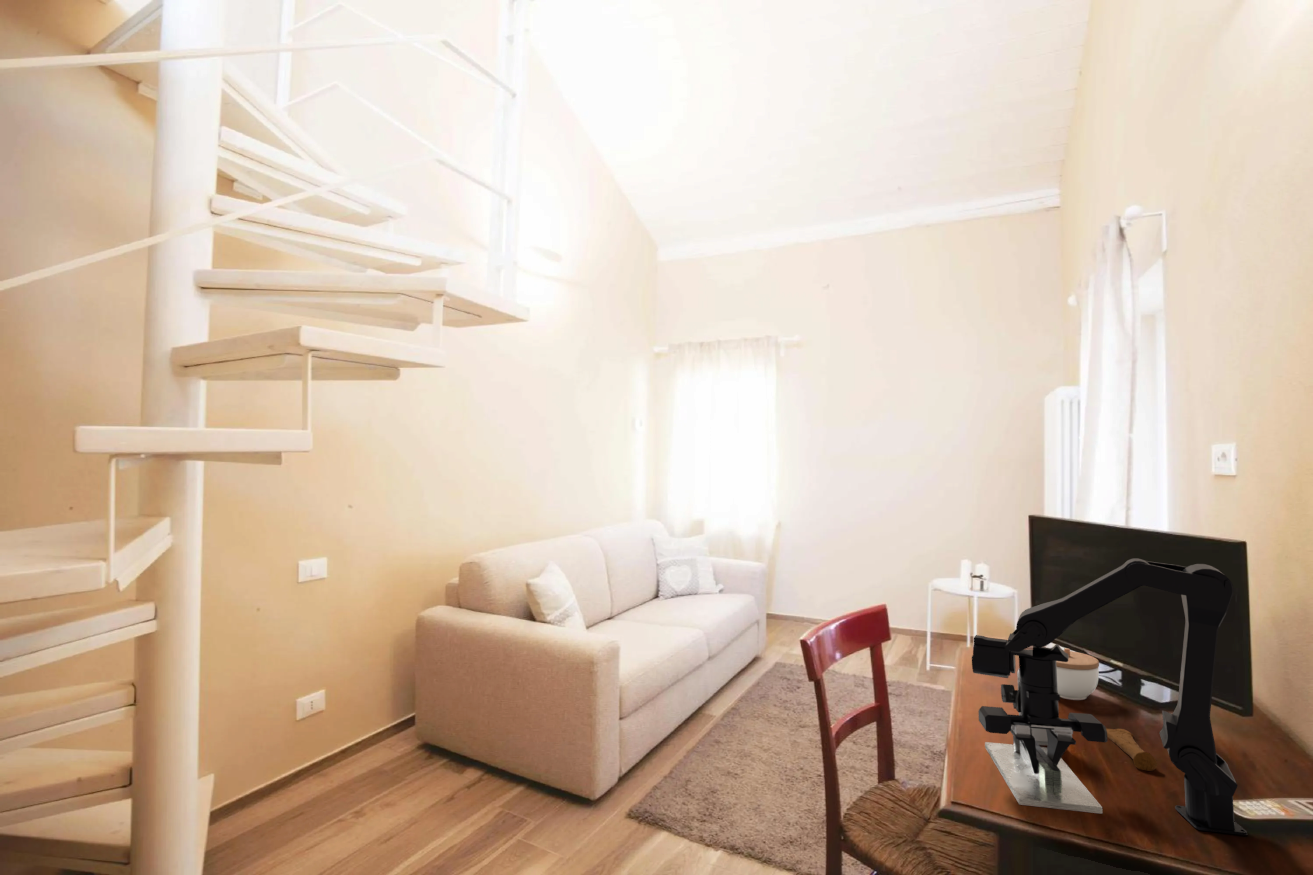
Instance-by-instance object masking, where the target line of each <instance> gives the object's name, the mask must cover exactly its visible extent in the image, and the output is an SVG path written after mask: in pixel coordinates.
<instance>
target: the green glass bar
mask: <svg viewBox="0 0 1313 875" xmlns="http://www.w3.org/2000/svg"><path fill="white" fill-rule="evenodd" d="M1035 745H1036V751H1037V752H1038V753H1039V754H1040V756H1041V757H1042V758H1043V760H1044V761H1045V762H1046V763H1047V764H1048V766H1049V767H1050V768H1051V769H1052V771H1053V792H1056V793H1062V778H1061V771H1060V769H1059V768H1058V767H1057V766H1056V764H1054V763H1053V762H1052V761H1051V760H1050V758H1049V757H1048V756H1047V755H1046V753H1045V752H1044V751H1043V750H1042V748H1041V747H1042V746H1041V745H1039V744H1038V743H1037V742H1036V741H1035Z"/></svg>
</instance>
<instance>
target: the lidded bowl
mask: <svg viewBox="0 0 1313 875" xmlns="http://www.w3.org/2000/svg"><path fill="white" fill-rule="evenodd" d="M1062 650H1063V651H1065V652H1066V653H1067V654H1068V655H1069V658H1068V662H1061V661H1056V666H1057V687H1058V694H1059V695H1060V699H1066V700H1071V701H1083V700H1086V699H1088V697H1089V696H1090V695H1091V694H1092V693H1093V692H1095V690H1096V688H1097V686H1098V683H1099V676H1100V674H1099V672H1100V671H1099V670H1100V669H1099V667H1100V660H1098V659H1097V658H1096V657H1094V656H1092V655H1090V654H1086V653H1083V652H1077V651H1072V650H1071V649H1070V648H1064V649H1062Z"/></svg>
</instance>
